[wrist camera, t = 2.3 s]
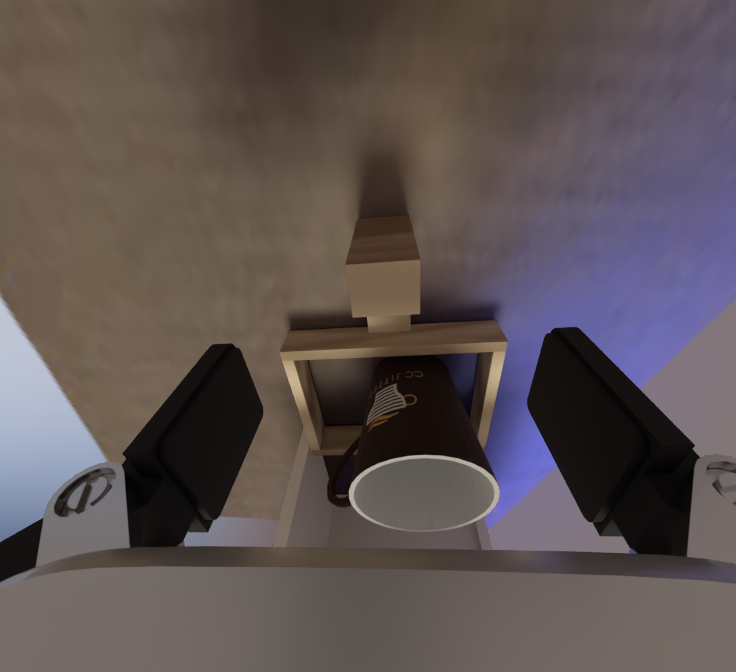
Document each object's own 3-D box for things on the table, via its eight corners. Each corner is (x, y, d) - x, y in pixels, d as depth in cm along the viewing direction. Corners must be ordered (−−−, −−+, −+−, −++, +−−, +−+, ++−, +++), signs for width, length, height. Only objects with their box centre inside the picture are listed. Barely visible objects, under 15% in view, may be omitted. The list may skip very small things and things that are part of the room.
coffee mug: (459, 330, 23) (502, 447, 15) (464, 407, 28) (498, 528, 19) (312, 353, 25) (277, 467, 17) (341, 422, 29) (324, 537, 21)
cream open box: (303, 426, 30) (240, 666, 17) (492, 421, 29) (585, 682, 15) (327, 498, 38) (297, 700, 25) (475, 498, 37) (527, 713, 23)
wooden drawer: (258, 226, 19) (201, 275, 13) (516, 205, 17) (583, 248, 12) (318, 431, 30) (301, 507, 24) (476, 428, 29) (500, 507, 23)
